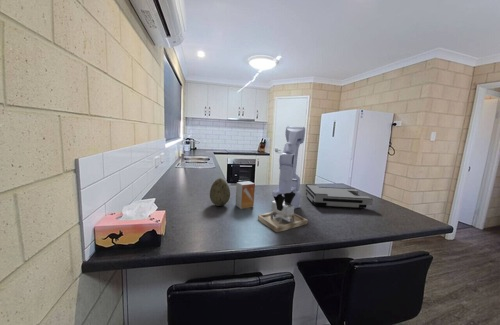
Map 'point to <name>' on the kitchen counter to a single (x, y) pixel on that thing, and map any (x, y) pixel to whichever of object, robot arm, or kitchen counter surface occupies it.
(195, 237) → the kitchen counter surface
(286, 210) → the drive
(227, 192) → the decorative egg
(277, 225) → the tray
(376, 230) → the kitchen counter surface
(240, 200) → the small box
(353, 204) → the game console
